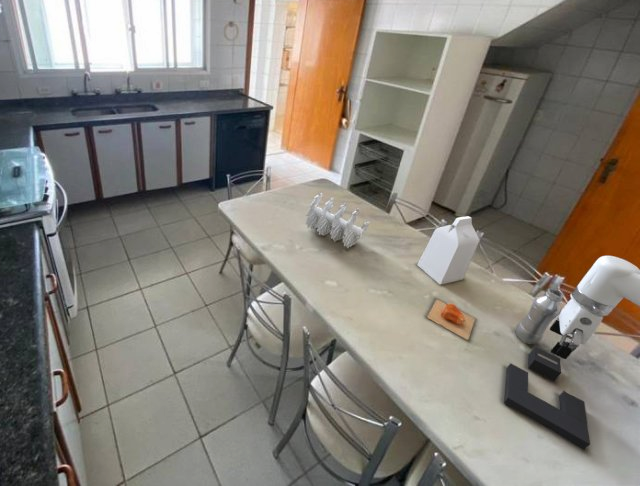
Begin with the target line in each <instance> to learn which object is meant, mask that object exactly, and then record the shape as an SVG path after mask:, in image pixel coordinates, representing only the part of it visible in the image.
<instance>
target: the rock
mask: <svg viewBox="0 0 640 486" xmlns="http://www.w3.org/2000/svg"><path fill="white" fill-rule="evenodd" d="M426 318H427V319H429V320H430V321H432V322H434V323H436V324H438V325H439V326H442V327H443V328H445V329H447V330H448V331H451V332H452V333H454V334H456V335H457V336H459V337H461V338H462V339H465V340H466V341H469V339H470V335H471V333H472V330H473V327H474V325H475V323H476V318H474V317H472V316H471V315H468V314H467V313H464V312H463V311H461V310H460V309H459V308H458V307H457V306H456V305H455V304H454V303H451V302H447V303H445V302H443V301H441V300H439V299H437V298H436V299H435V301H434V302H433V306H432V307H431V309H430V310H429V313H428V314H427V316H426Z"/></svg>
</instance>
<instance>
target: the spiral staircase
mask: <svg viewBox="0 0 640 486" xmlns="http://www.w3.org/2000/svg"><path fill="white" fill-rule="evenodd" d="M322 199H323V193H322V192H321V193H320V192H318V193H317V195H315V196H314V197H313V199H312V201H311V203H310V204H309V205H308V211H307V213H306V214H305V216H306V217H307V218H306V222H305V225H306V228H307V229H310V230H311V231H313V229H314V230H315V229H316V228H317V230H316V232H318V235H319V236H320V235H321V236H323V237H325V235H327V234H329V235H330V239H331V240H333V242H334V243H335V242H336V241H340V240H341V239H343V240H342V243H343V247H344V248H345V247H346V248H347V249H349V248H351V247H353V246H354V245H356V244H357V242H358V241H359V240H360V239H362V238H363V236H364V234H365V232H366V231H367V229H368V227H369V225H370V221H366V222H364V223H362V225H361V226H358V225H356V224H355V222H356V220H357V218H358V215H359V209H360V208H357V207H356V208H355V209H354V211H353V212H352V213H351V215H350V217H349V219H348V220H346V219H344V218H343V216H344V214H345V211H346V207H347V203H346V202H342V204H341V205H339V207H338V209H337V212H336V213H335V214H334V213H331V211H332V209H333V207H334V205H333V204H334V197H331V198H328V200H327V201H326V202H325V203H324V206H323V208H321V207H319V206H317V205H318V204H320V202H321V200H322Z"/></svg>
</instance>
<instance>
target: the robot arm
mask: <svg viewBox="0 0 640 486" xmlns="http://www.w3.org/2000/svg"><path fill="white" fill-rule="evenodd" d="M569 296H570V299H569V300H568V302H567V303H566V304H565V305H564V306H563V308H561V313H560V314H559V315H558V316H557V317H556V319H555V320H554V322H553V323H552V325H551V326H550V327H549V331H551V332H553V333H554V334H556V335H559V336H561V339H560V340H559V341H557V342H556V343H555V345H553V347H552V348H551V349H550V354H552V355H554V356H556V357H558V358H560V359H562V360H567V359H568V357H569V356H570V355H571V354H572V353H573V352H574V351H575V350H577V348H579V347H580V345H586V344H587V343H588V341H589V340H590V339H591V337H593V335H594V333H595V332H596V331H597V330H598V328H599V327H600V325H601V323H602V321H603V319H604V317H605V316H609V315H610V313H611V312H612V311H613V310H614V309H615V308H616V307H617V306H618V304H620V302H621V301H622V300H623V299H626V300H628V301H630V303H633V304H635V305H636V306H638V307H640V269H639V268H638V267H637V265H635V264H633V263H631V262H630V261H628V260H626V259H624V258H620V257H618V256H613V255H602V256H600V257H598V258H597V259H596V260H595V262H594V263H593V265H592V266H591V267H590V268H589V270H588V271H587V273H585V275H583V277H582V279H581V280H580V282H579V283H578V284H577V285H576V287H575V288H574V289H573V290H572V292H571V294H570V295H569ZM569 334H570V335H569ZM571 335H572V336H571ZM567 339H569V340H570V341H566V340H567Z"/></svg>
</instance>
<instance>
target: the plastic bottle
mask: <svg viewBox="0 0 640 486" xmlns="http://www.w3.org/2000/svg"><path fill="white" fill-rule="evenodd" d="M564 297H565V294H564V293H563V292H562V291H560V290H559V289H556V288H552V287H550V288H548V290H546V292H545V293H544V294H541V295H538V296H536V297H535V298H534V299H533V300H532V303H531V307H530V309H529V311H528V312H527V314H526V316H525V317H524V318H523V319H522V320H521V321H520V322H519V323H518V324H516V325H515V328H514V333H515V335H516V337H517V338H518V339H519V340H521V341H522V342H524V343H526V344H529V345H536V344H538V343H540V341H542V338H543V336H544V333H545V331H546V329H547V328H548V326H549V325H550V324H551V323H552V321H554V319H557V318H558V316H559V315H560V313H561V311H562V306H561V305H562V304H561V302H562V301H563V299H564Z"/></svg>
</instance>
